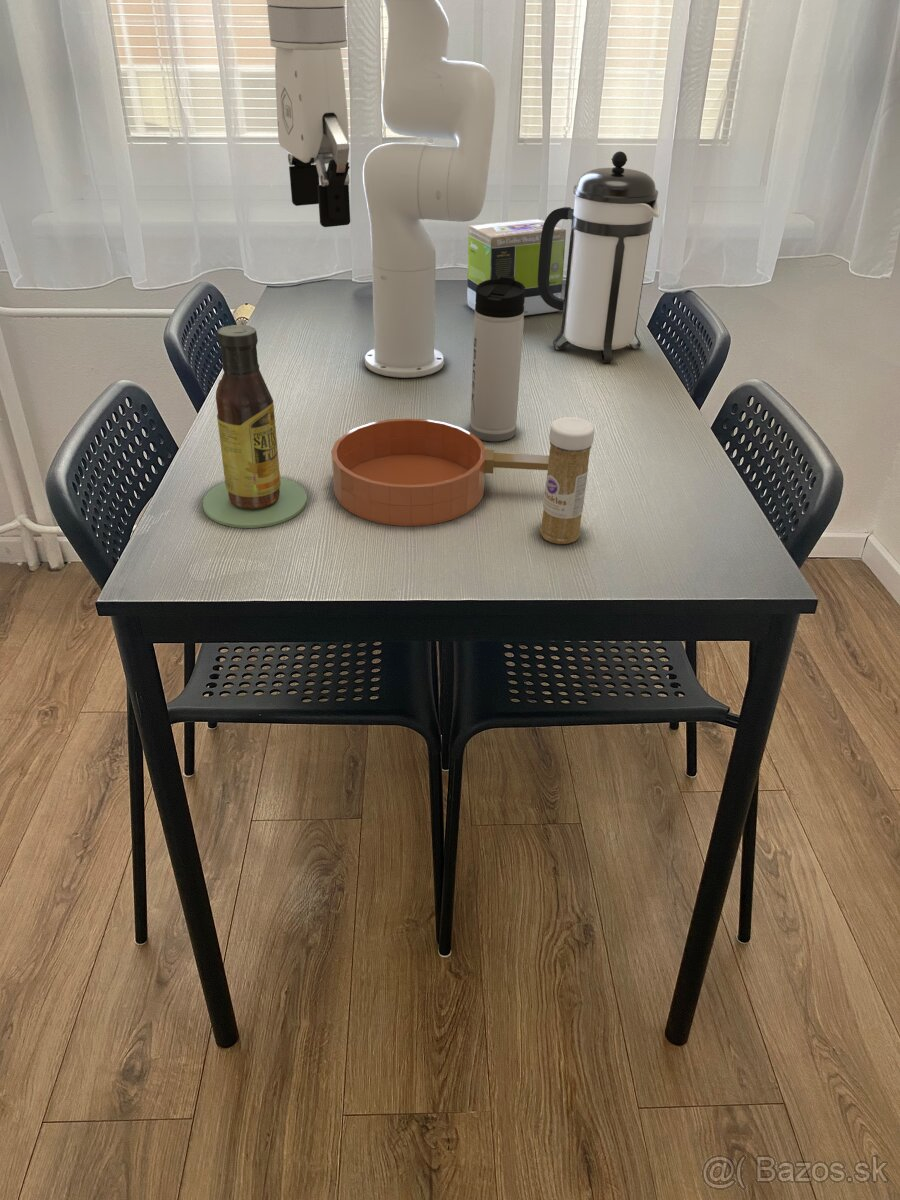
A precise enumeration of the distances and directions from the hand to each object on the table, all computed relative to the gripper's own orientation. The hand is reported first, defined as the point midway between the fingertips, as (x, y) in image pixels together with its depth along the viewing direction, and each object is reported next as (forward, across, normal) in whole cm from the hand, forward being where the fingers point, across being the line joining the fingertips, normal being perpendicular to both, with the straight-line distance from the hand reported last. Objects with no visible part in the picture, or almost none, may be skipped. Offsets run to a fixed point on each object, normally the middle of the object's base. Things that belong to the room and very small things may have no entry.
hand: (320, 214), depth 96 cm
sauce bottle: (+29, +8, -13) cm, 32 cm away
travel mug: (+30, +2, +22) cm, 37 cm away
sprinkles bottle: (+29, +29, +16) cm, 44 cm away
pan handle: (+26, +19, +18) cm, 37 cm away
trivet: (+29, +8, -13) cm, 33 cm away
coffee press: (+31, -22, +53) cm, 65 cm away
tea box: (+31, -44, +50) cm, 74 cm away
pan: (+29, +12, +5) cm, 32 cm away
